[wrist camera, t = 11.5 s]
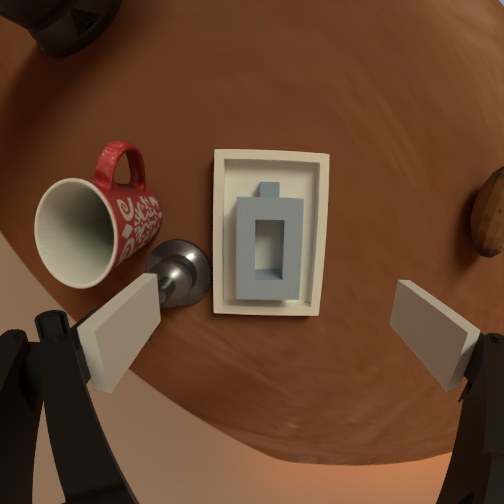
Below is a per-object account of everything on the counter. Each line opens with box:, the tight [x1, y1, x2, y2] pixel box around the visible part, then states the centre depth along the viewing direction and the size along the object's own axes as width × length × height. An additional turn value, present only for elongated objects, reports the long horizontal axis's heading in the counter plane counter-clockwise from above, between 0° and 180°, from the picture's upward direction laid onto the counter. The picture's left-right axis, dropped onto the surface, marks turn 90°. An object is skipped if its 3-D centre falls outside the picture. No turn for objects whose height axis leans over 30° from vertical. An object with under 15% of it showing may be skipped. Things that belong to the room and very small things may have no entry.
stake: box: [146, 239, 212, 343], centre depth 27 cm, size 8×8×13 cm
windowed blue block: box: [236, 182, 304, 300], centre depth 30 cm, size 12×6×4 cm, turn 179°
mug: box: [35, 140, 162, 289], centre depth 25 cm, size 13×9×14 cm
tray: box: [213, 149, 329, 316], centre depth 31 cm, size 18×12×2 cm, turn 178°
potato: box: [470, 166, 504, 258], centre depth 27 cm, size 8×13×8 cm
